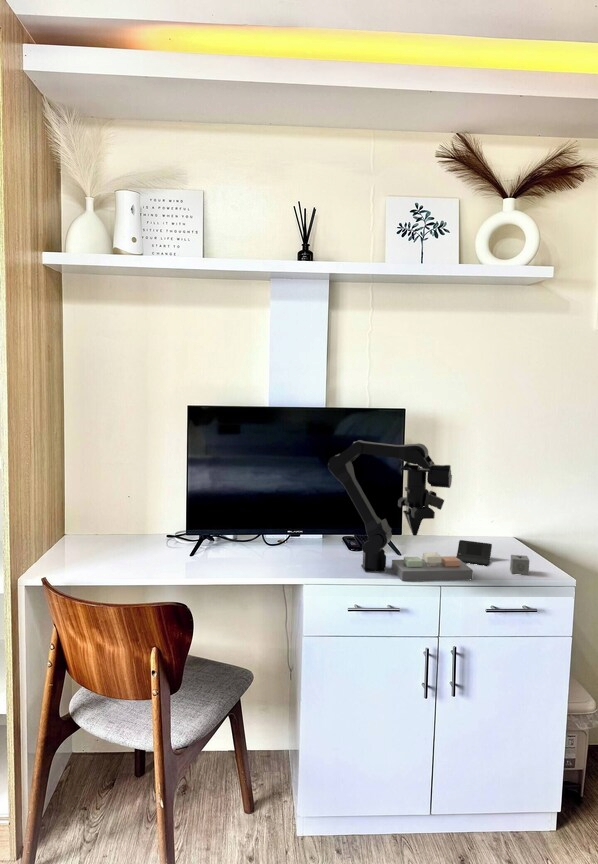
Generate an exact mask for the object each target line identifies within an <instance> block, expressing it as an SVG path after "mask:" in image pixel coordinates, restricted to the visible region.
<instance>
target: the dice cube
mask: <svg viewBox="0 0 598 864" xmlns="http://www.w3.org/2000/svg"><path fill="white" fill-rule="evenodd" d="M509 571H510V574H511V575H515V574H521V575H520V576H529V574H530V558H529V557H528V555H520V554H510V566H509Z"/></svg>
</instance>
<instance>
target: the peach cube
mask: <svg viewBox="0 0 598 864" xmlns="http://www.w3.org/2000/svg"><path fill="white" fill-rule="evenodd" d="M440 556H441V555H440ZM441 557H442V561H441V563H442V564H443V565H445V566H460V560H459V559H458V558H457V557H456V556H454V555H450V556H447V555H446V556H445V555H444V556H441Z"/></svg>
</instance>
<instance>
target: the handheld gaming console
mask: <svg viewBox="0 0 598 864" xmlns="http://www.w3.org/2000/svg"><path fill="white" fill-rule="evenodd" d="M492 547H493V545H492V543H490V542H482V541H481V542H480V541H472V540H471V541H470V540H462V539H460V540H459V541H458V546H457V553H456V556H455V557H457V558H458V559H460V560H461V561H462V562H463V563H465V564H467V563H470V564H469V565H474V564H477V565H476V566H483V565H484V566H485V567H488V566H487V565H489V564H490V561H491V554H492Z"/></svg>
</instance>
